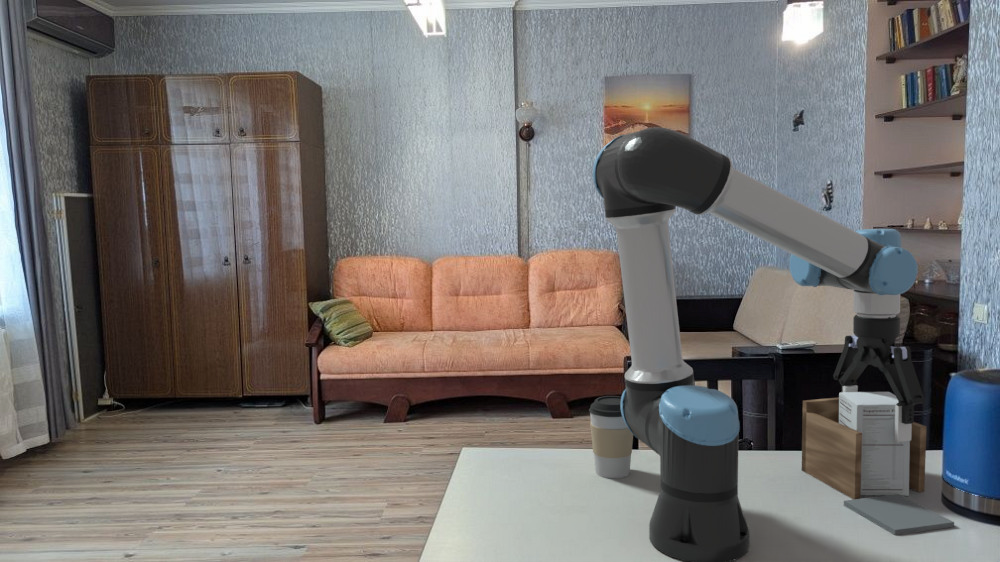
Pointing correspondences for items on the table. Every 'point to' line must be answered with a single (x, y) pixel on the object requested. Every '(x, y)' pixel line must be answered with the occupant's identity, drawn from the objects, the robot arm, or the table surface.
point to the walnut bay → (847, 449)
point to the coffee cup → (610, 438)
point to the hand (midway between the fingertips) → (875, 429)
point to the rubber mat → (898, 514)
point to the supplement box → (877, 441)
